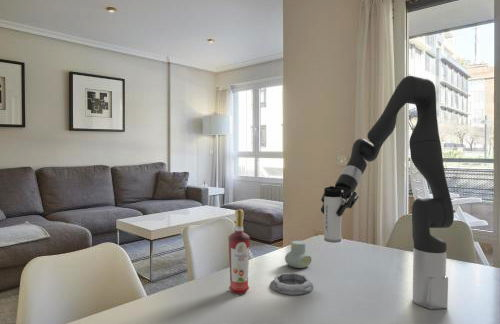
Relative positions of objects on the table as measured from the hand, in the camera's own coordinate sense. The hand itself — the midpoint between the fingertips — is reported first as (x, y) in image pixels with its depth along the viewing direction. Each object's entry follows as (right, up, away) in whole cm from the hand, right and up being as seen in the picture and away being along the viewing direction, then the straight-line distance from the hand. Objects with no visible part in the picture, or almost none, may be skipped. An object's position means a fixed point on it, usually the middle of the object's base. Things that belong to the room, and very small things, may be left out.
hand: (330, 213), depth 127 cm
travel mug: (+1, -10, +2) cm, 11 cm away
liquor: (-33, -25, -9) cm, 43 cm away
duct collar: (-15, -25, -5) cm, 30 cm away
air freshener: (-10, -24, +16) cm, 31 cm away
